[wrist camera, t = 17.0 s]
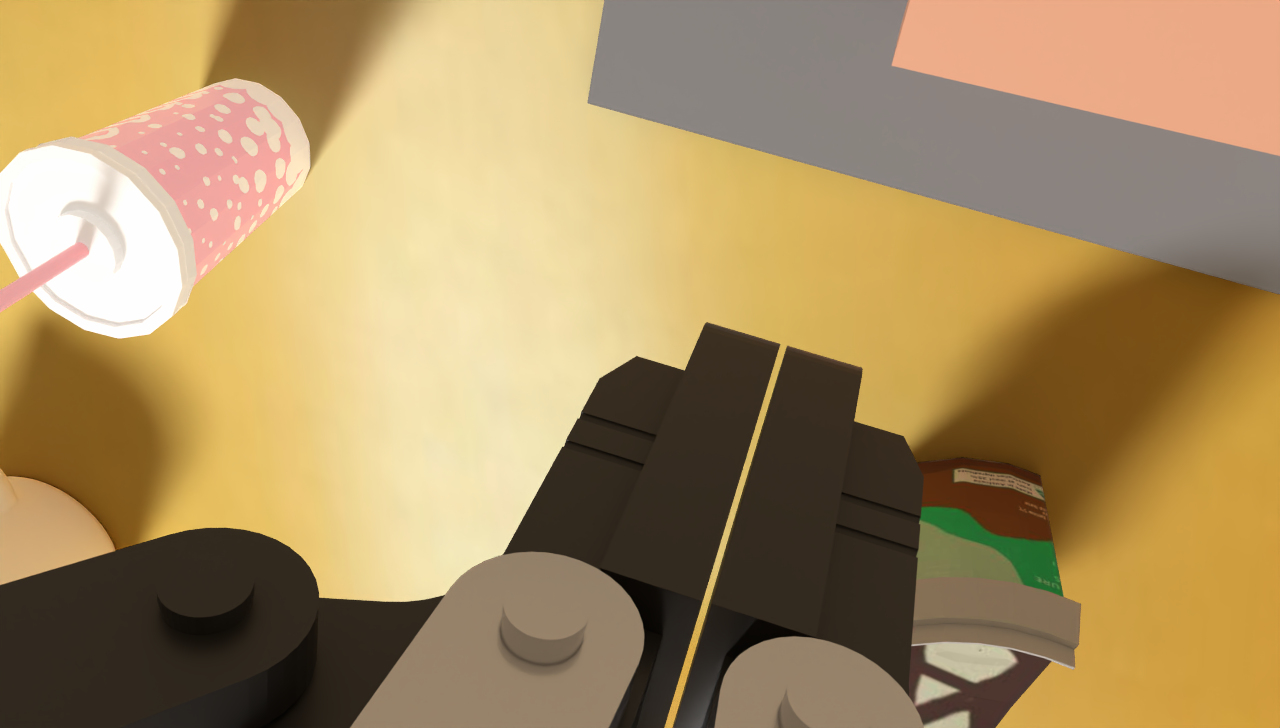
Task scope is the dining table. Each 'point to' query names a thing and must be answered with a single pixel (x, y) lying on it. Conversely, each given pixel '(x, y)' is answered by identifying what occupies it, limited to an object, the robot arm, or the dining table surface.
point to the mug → (44, 529)
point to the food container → (984, 594)
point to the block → (1114, 58)
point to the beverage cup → (147, 204)
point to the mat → (936, 129)
